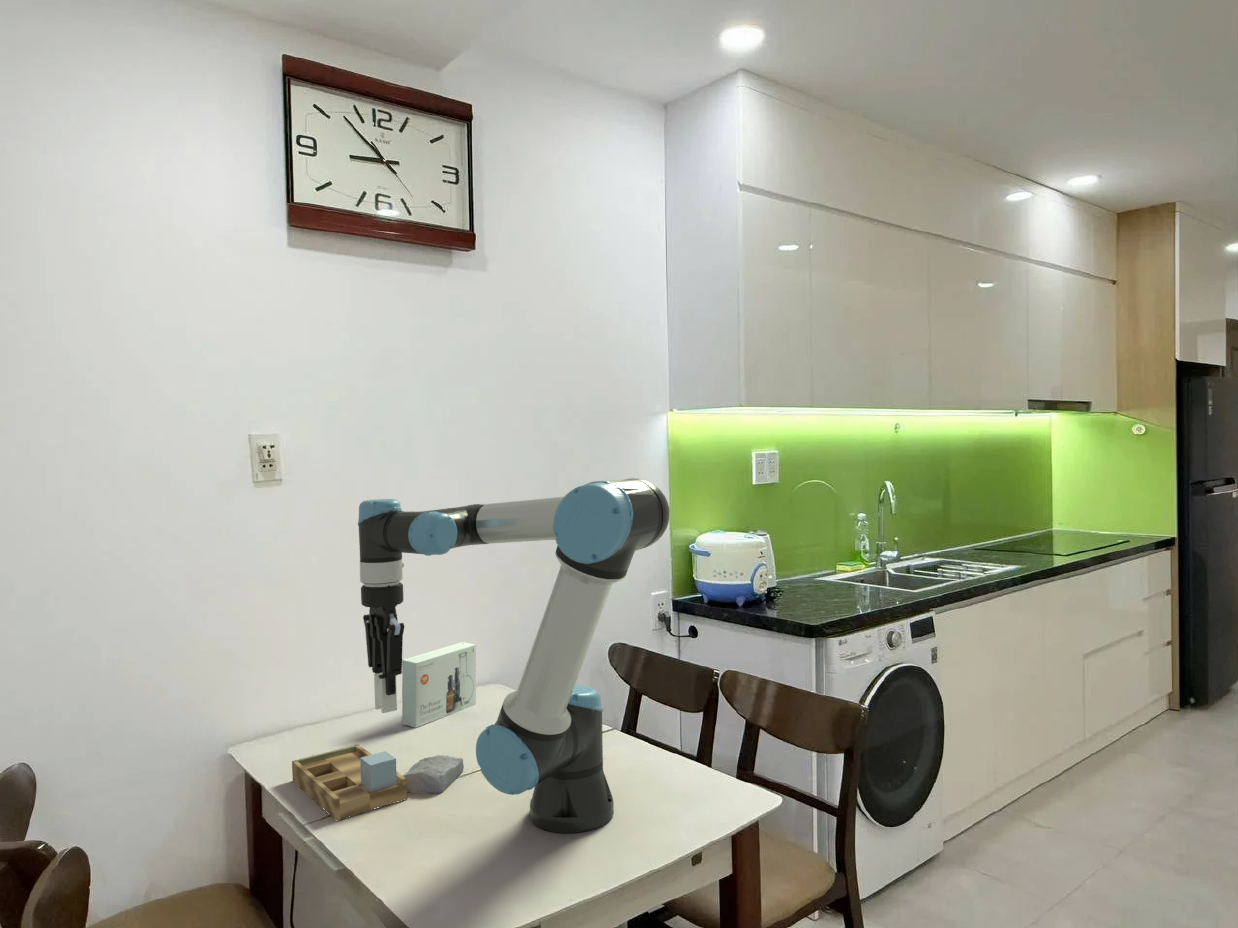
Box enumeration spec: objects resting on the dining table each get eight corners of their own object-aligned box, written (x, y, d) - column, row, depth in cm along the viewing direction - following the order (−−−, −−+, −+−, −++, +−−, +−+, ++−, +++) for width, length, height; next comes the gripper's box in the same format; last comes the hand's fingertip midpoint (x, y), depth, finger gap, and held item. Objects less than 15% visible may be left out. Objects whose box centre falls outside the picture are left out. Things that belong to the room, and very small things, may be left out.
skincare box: (417, 729, 199) (415, 662, 199) (401, 725, 202) (399, 659, 202) (478, 704, 217) (476, 643, 216) (462, 701, 220) (461, 640, 219)
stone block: (398, 801, 164) (445, 794, 162) (393, 777, 164) (440, 769, 162) (424, 779, 176) (468, 772, 174) (419, 756, 176) (463, 749, 174)
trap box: (407, 799, 160) (406, 778, 160) (335, 821, 152) (335, 799, 151) (358, 762, 179) (358, 744, 179) (292, 780, 170) (292, 760, 170)
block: (396, 784, 160) (396, 758, 160) (371, 791, 157) (370, 765, 157) (386, 776, 164) (385, 750, 164) (361, 783, 161) (360, 757, 160)
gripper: (419, 585, 152) (423, 714, 153) (384, 575, 164) (388, 695, 165) (379, 591, 147) (383, 724, 148) (346, 580, 159) (350, 704, 160)
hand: (386, 709), depth 156 cm, fingers open, 2 cm apart
